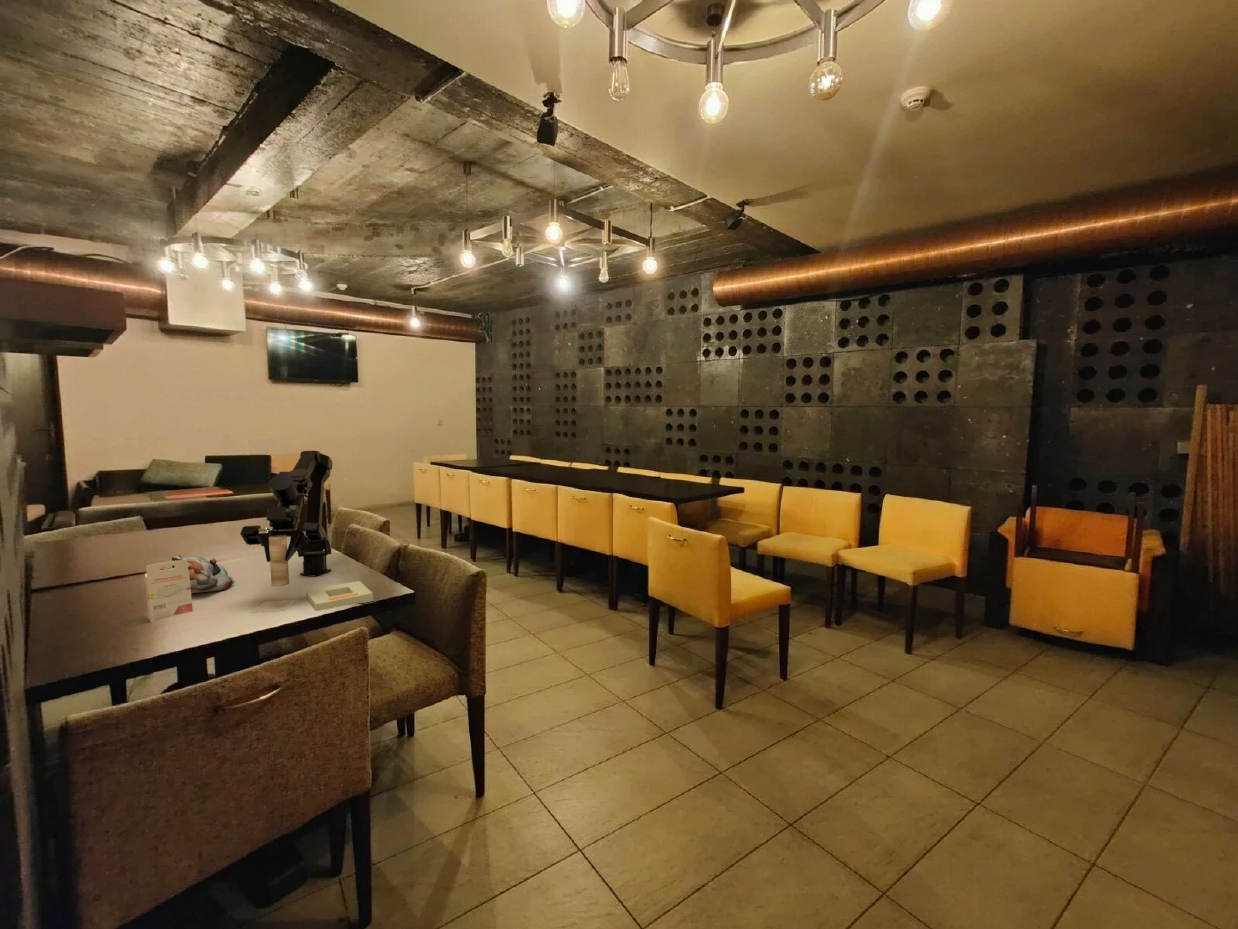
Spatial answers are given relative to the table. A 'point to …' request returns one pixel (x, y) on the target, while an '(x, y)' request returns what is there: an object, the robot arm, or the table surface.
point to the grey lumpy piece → (205, 574)
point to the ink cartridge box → (168, 590)
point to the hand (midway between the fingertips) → (277, 560)
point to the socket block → (338, 595)
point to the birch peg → (278, 560)
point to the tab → (274, 606)
